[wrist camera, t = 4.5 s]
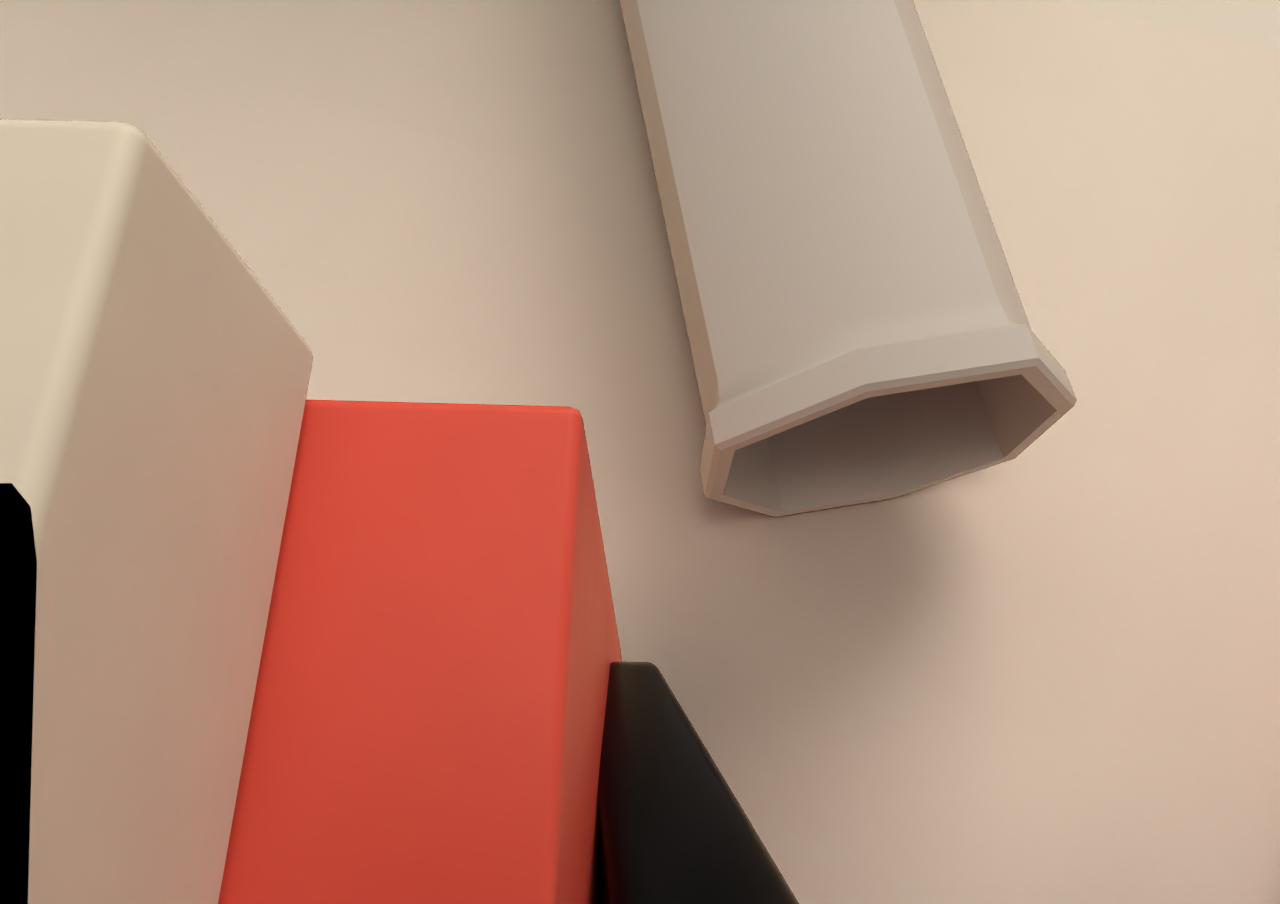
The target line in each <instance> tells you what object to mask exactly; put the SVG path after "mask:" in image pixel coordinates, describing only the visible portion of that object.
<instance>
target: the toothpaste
mask: <svg viewBox="0 0 1280 904" xmlns="http://www.w3.org/2000/svg"><path fill="white" fill-rule="evenodd" d="M312 361H313V355H312V351H311V348H310V346H309V345H308V344H307V342H306V341H305V340H304V338H303V337H302V336H301V334H300V333H299V332H298V331H297V329H296V328H295V327H294V325H293V324H292V323H291V321H290V320H289V319H288V318H287V316H286V315H285V314H284V312H283V311H282V310H281V308H280V307H279V306H278V305H277V303H276V302H275V301H274V299H273V298H272V297H271V295H270V294H269V293H268V292H267V290H266V289H265V288H264V286H263V285H262V284H261V282H260V281H259V280H258V279H257V277H256V276H255V275H254V273H253V272H252V271H251V269H250V268H249V267H248V266H247V264H246V263H245V262H244V260H243V259H242V258H241V256H240V255H239V254H238V253H237V251H236V250H235V249H234V247H233V246H232V245H231V243H230V242H229V241H228V240H227V238H226V237H225V236H224V234H223V233H222V232H221V230H220V229H219V228H218V227H217V225H216V224H215V223H214V221H213V220H212V219H211V217H210V216H209V215H208V214H207V212H206V211H205V210H204V208H203V207H202V206H201V204H200V203H199V202H198V201H197V199H196V198H195V197H194V195H193V194H192V193H191V191H190V190H189V189H188V188H187V186H186V185H185V184H184V182H183V181H182V180H181V178H180V177H179V176H178V175H177V173H176V172H175V171H174V169H173V168H172V167H171V165H170V164H169V163H168V162H167V160H166V159H165V158H164V156H163V155H162V154H161V152H160V151H159V150H158V149H157V147H156V146H155V145H154V143H153V142H152V141H151V139H150V138H149V137H148V136H147V134H146V133H144V132H143V131H141V130H140V129H138V128H136V127H134V126H131V125H128V124H125V123H122V122H97V121H54V120H11V119H0V904H598V780H599V768H600V757H601V748H602V738H603V728H604V719H605V709H606V700H607V690H608V680H609V671H610V663H611V662H614V661H621V662H622V657H621V651H620V645H619V638H618V632H617V626H616V620H615V614H614V608H613V602H612V595H611V589H610V583H609V577H608V571H607V565H606V559H605V553H604V546H603V540H602V534H601V528H600V522H599V516H598V510H597V503H596V497H595V491H594V485H593V479H592V473H591V467H590V461H589V454H588V448H587V442H586V436H585V430H584V424H583V419H582V417H581V414H580V411H579V410H577V409H574V408H571V407H560V406H522V405H485V404H447V403H410V402H372V401H335V400H306V396H307V390H308V384H309V378H310V373H311V367H312Z"/></svg>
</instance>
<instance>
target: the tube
mask: <svg viewBox="0 0 1280 904" xmlns="http://www.w3.org/2000/svg"><path fill="white" fill-rule="evenodd" d="M620 4H621V9H622V13H623V18H624V23H625V28H626V33H627V38H628V43H629V48H630V53H631V58H632V63H633V67H634V72H635V77H636V82H637V87H638V92H639V97H640V102H641V107H642V112H643V117H644V121H645V126H646V131H647V136H648V141H649V146H650V151H651V156H652V161H653V166H654V171H655V175H656V180H657V185H658V190H659V195H660V200H661V205H662V210H663V215H664V220H665V225H666V229H667V234H668V239H669V244H670V249H671V254H672V259H673V264H674V269H675V274H676V279H677V284H678V288H679V293H680V298H681V303H682V308H683V313H684V318H685V323H686V328H687V333H688V338H689V342H690V347H691V352H692V357H693V362H694V367H695V372H696V377H697V382H698V387H699V392H700V396H701V401H702V406H703V411H704V416H705V421H706V426H707V427H706V433H705V439H704V444H703V450H702V456H701V462H700V472H701V477H702V483H703V489H704V495H705V496H707V497H708V498H709V499H713V500H716V501H720V502H723V503H727V504H730V505H734V506H737V507H741V508H745V509H748V510H752V511H755V512H759V513H762V514H766V515H770V516H773V517H777V516H784V515H790V514H796V513H803V512H809V511H815V510H822V509H828V508H834V507H841V506H847V505H853V504H860V503H866V502H872V501H878V500H885V499H891V498H895V497H898V496H901V495H904V494H907V493H910V492H913V491H917V490H920V489H923V488H926V487H929V486H932V485H935V484H938V483H941V482H944V481H947V480H950V479H953V478H956V477H959V476H962V475H965V474H969V473H972V472H975V471H978V470H981V469H984V468H987V467H990V466H993V465H996V464H999V463H1002V462H1005V461H1008V460H1011V459H1014V458H1016V457H1017V456H1018V455H1019V454H1020V453H1021V452H1022V451H1024V450H1025V449H1026V448H1027V447H1028V446H1029V445H1030V444H1031V443H1033V442H1034V441H1035V440H1036V439H1037V438H1038V437H1039V436H1041V435H1042V434H1043V433H1044V432H1045V431H1046V430H1047V429H1048V428H1050V427H1051V426H1052V425H1053V424H1054V423H1055V422H1056V421H1057V420H1059V419H1060V418H1061V417H1062V416H1063V415H1064V414H1065V413H1066V412H1068V411H1069V410H1070V409H1071V408H1072V407H1073V406H1074V404H1075V402H1076V397H1075V395H1074V392H1073V390H1072V387H1071V384H1070V382H1069V379H1068V377H1067V374H1066V372H1065V370H1064V369H1063V368H1062V366H1061V365H1060V364H1059V363H1058V362H1057V360H1056V359H1055V358H1054V357H1053V356H1052V355H1051V353H1050V352H1049V351H1048V350H1047V349H1046V347H1045V346H1044V345H1043V344H1042V343H1041V341H1040V340H1039V339H1038V338H1037V337H1036V336H1035V334H1034V333H1033V332H1032V331H1031V328H1030V325H1029V322H1028V320H1027V317H1026V314H1025V311H1024V308H1023V306H1022V303H1021V300H1020V297H1019V294H1018V292H1017V289H1016V286H1015V283H1014V281H1013V278H1012V275H1011V272H1010V269H1009V267H1008V264H1007V261H1006V258H1005V256H1004V253H1003V250H1002V247H1001V244H1000V242H999V239H998V236H997V233H996V230H995V228H994V225H993V222H992V219H991V217H990V214H989V211H988V208H987V205H986V203H985V200H984V197H983V194H982V191H981V189H980V186H979V183H978V180H977V178H976V175H975V172H974V169H973V166H972V164H971V161H970V158H969V155H968V153H967V150H966V147H965V144H964V141H963V139H962V136H961V133H960V130H959V127H958V125H957V122H956V119H955V116H954V114H953V111H952V108H951V105H950V102H949V100H948V97H947V94H946V91H945V88H944V86H943V83H942V80H941V77H940V75H939V72H938V69H937V66H936V63H935V61H934V58H933V55H932V52H931V49H930V47H929V44H928V41H927V38H926V36H925V33H924V30H923V27H922V24H921V22H920V19H919V16H918V13H917V11H916V8H915V5H914V2H913V0H620Z"/></svg>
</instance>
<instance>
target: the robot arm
mask: <svg viewBox="0 0 1280 904" xmlns="http://www.w3.org/2000/svg"><path fill="white" fill-rule="evenodd" d="M598 904H799V903H798V901H797V899H796V898H795V896H794V894H793V893H792V891H791V889H790V888H789V886H788V884H787V883H786V881H785V879H784V878H783V876H782V874H781V873H780V871H779V869H778V868H777V866H776V864H775V863H774V861H773V859H772V858H771V856H770V854H769V853H768V851H767V849H766V848H765V846H764V844H763V843H762V841H761V839H760V838H759V836H758V834H757V833H756V831H755V829H754V828H753V826H752V824H751V823H750V821H749V819H748V818H747V816H746V814H745V813H744V811H743V809H742V808H741V806H740V804H739V803H738V801H737V799H736V798H735V796H734V794H733V793H732V791H731V789H730V788H729V786H728V784H727V783H726V781H725V779H724V778H723V776H722V774H721V773H720V771H719V769H718V768H717V766H716V764H715V763H714V761H713V759H712V758H711V756H710V754H709V753H708V751H707V749H706V748H705V746H704V744H703V743H702V741H701V739H700V738H699V736H698V734H697V733H696V731H695V729H694V728H693V726H692V724H691V723H690V721H689V719H688V718H687V716H686V714H685V713H684V711H683V709H682V708H681V706H680V704H679V703H678V701H677V699H676V698H675V696H674V694H673V693H672V691H671V689H670V688H669V686H668V684H667V683H666V681H665V679H664V678H663V676H662V674H661V673H660V671H659V669H658V668H657V667H656V666H655V665H654V664H652V663H649V662H621V661H614V662H611V663H610V671H609V680H608V690H607V700H606V709H605V719H604V728H603V738H602V748H601V757H600V768H599V780H598Z"/></svg>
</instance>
